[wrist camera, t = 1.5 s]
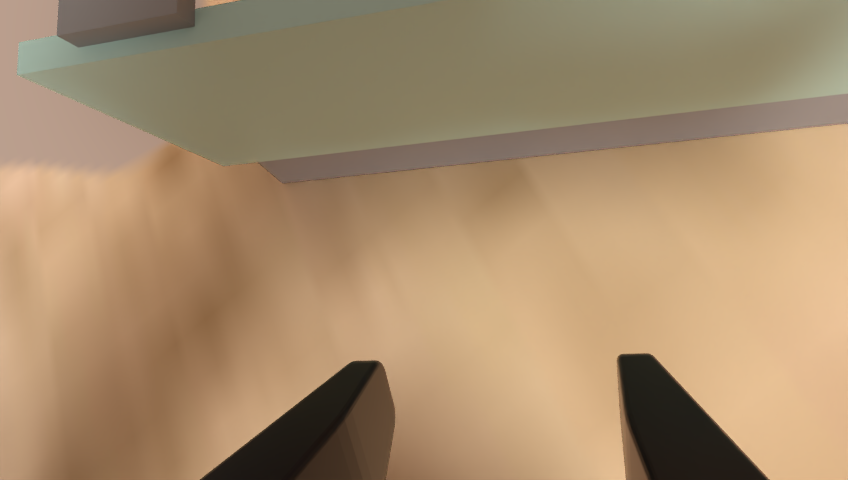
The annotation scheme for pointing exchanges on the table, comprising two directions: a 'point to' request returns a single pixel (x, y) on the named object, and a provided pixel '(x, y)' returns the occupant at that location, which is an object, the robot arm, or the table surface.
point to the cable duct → (569, 139)
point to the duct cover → (425, 66)
